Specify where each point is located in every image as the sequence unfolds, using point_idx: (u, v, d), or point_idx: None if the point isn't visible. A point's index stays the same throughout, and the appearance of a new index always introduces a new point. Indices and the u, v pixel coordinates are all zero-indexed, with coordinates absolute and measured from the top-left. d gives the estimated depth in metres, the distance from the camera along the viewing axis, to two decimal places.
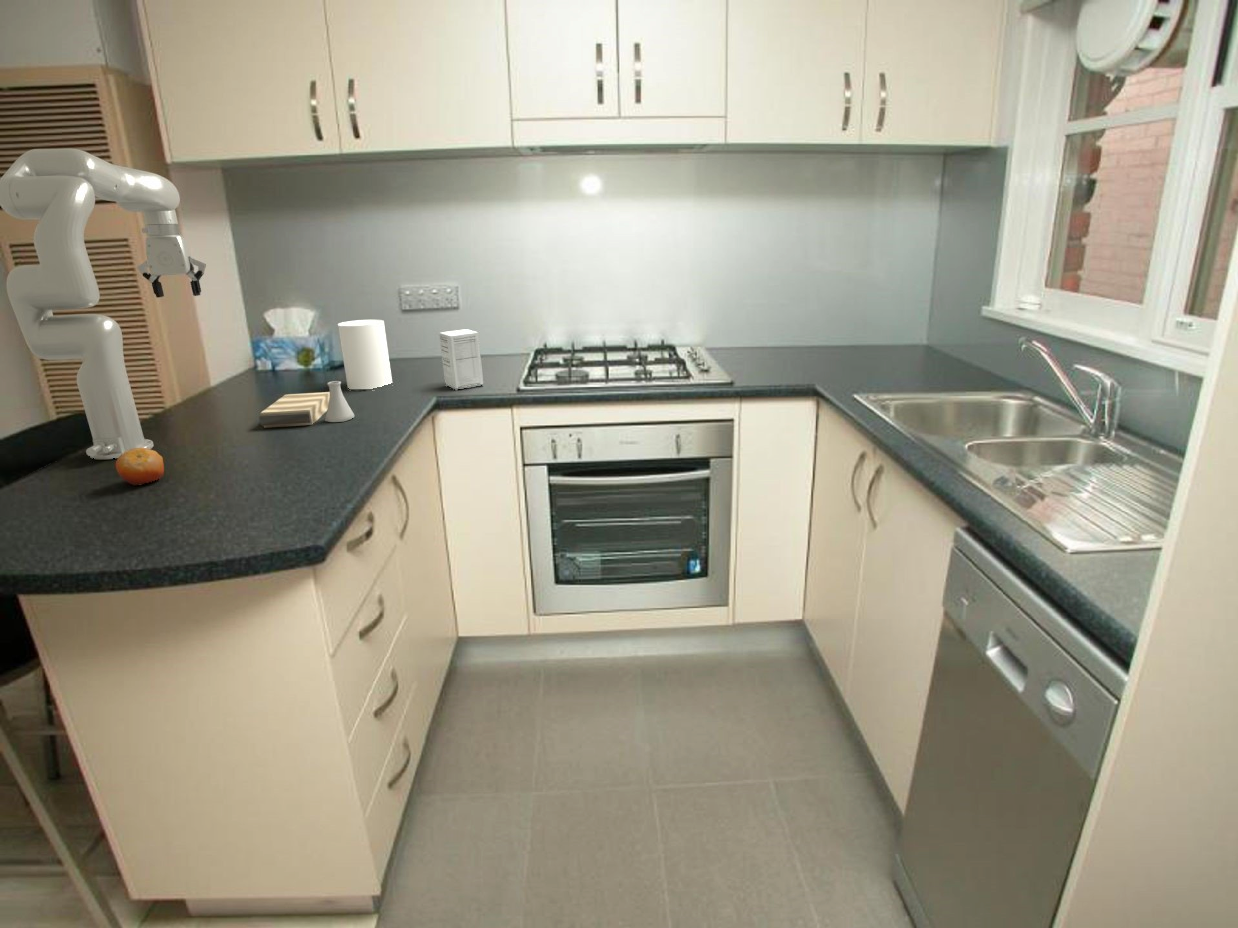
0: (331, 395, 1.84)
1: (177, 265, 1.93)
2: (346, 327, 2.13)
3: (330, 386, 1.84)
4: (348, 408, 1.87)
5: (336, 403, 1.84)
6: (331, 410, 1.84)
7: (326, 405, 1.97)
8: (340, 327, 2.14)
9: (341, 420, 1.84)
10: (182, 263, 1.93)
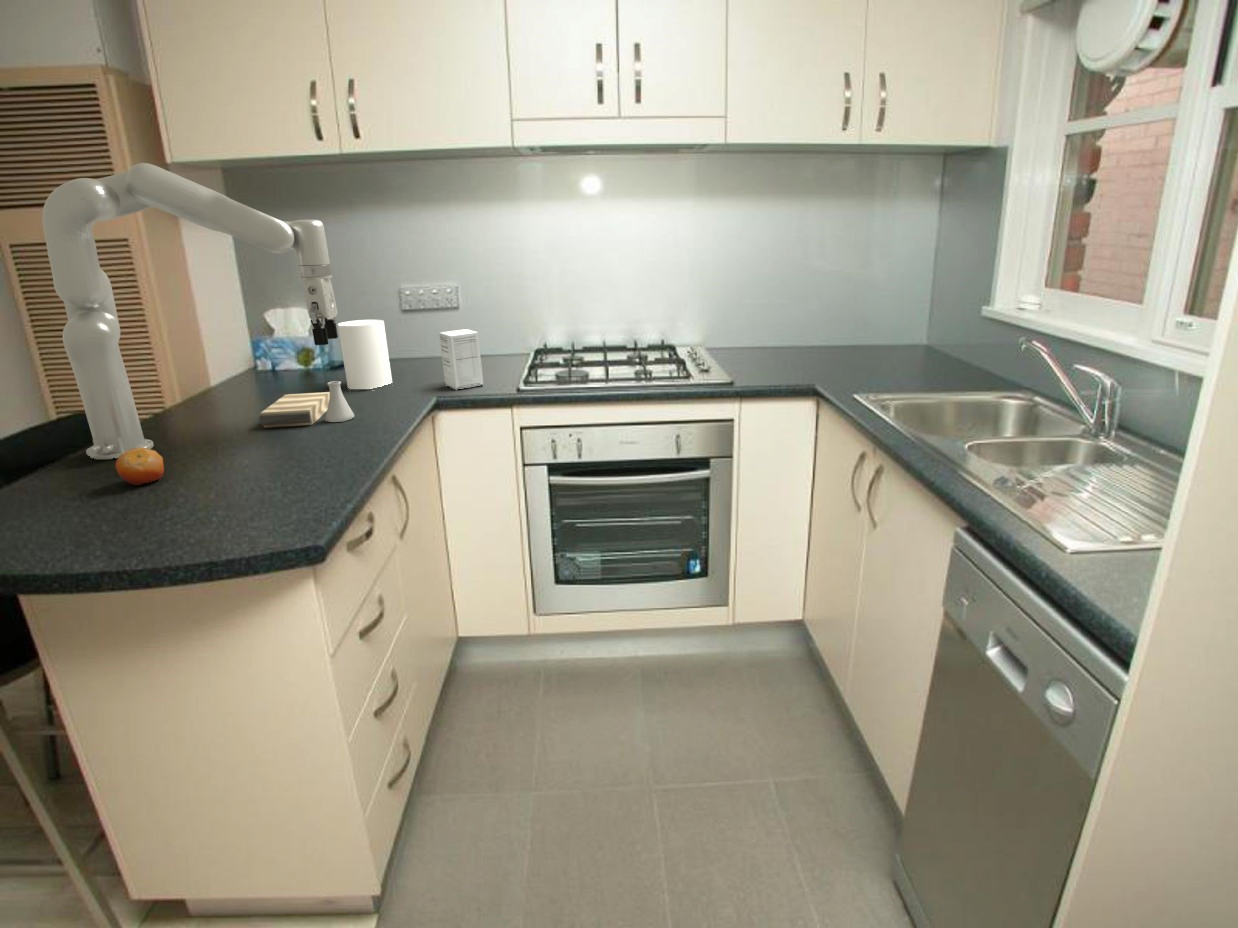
0: (331, 395, 1.84)
1: (335, 306, 1.81)
2: (346, 327, 2.13)
3: (330, 386, 1.84)
4: (348, 408, 1.87)
5: (336, 403, 1.84)
6: (331, 410, 1.84)
7: (326, 405, 1.97)
8: (340, 327, 2.14)
9: (341, 420, 1.84)
10: (335, 304, 1.82)
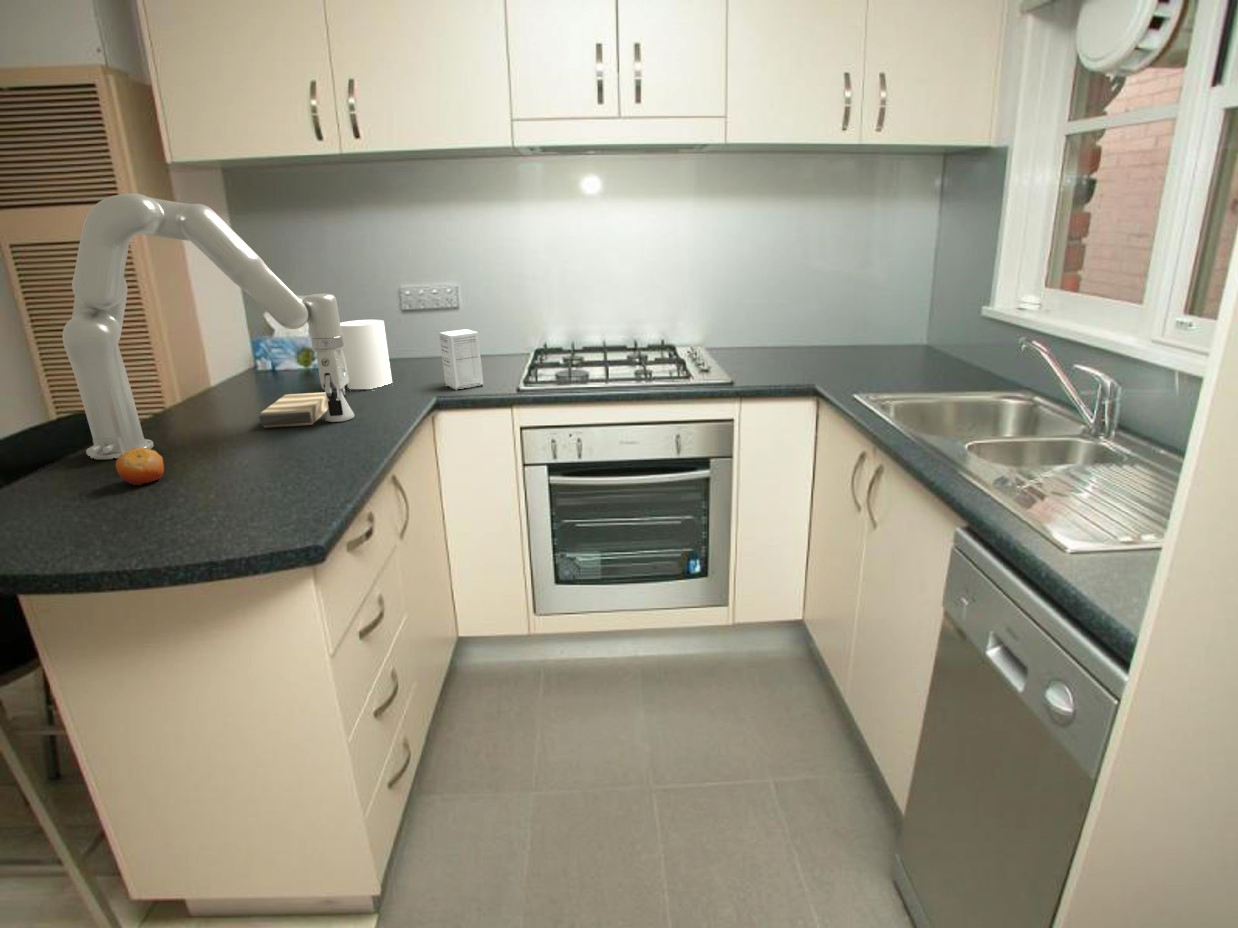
0: None
1: (346, 374, 1.87)
2: (346, 327, 2.13)
3: None
4: (348, 408, 1.87)
5: None
6: None
7: (326, 405, 1.97)
8: None
9: (341, 420, 1.84)
10: (347, 371, 1.88)
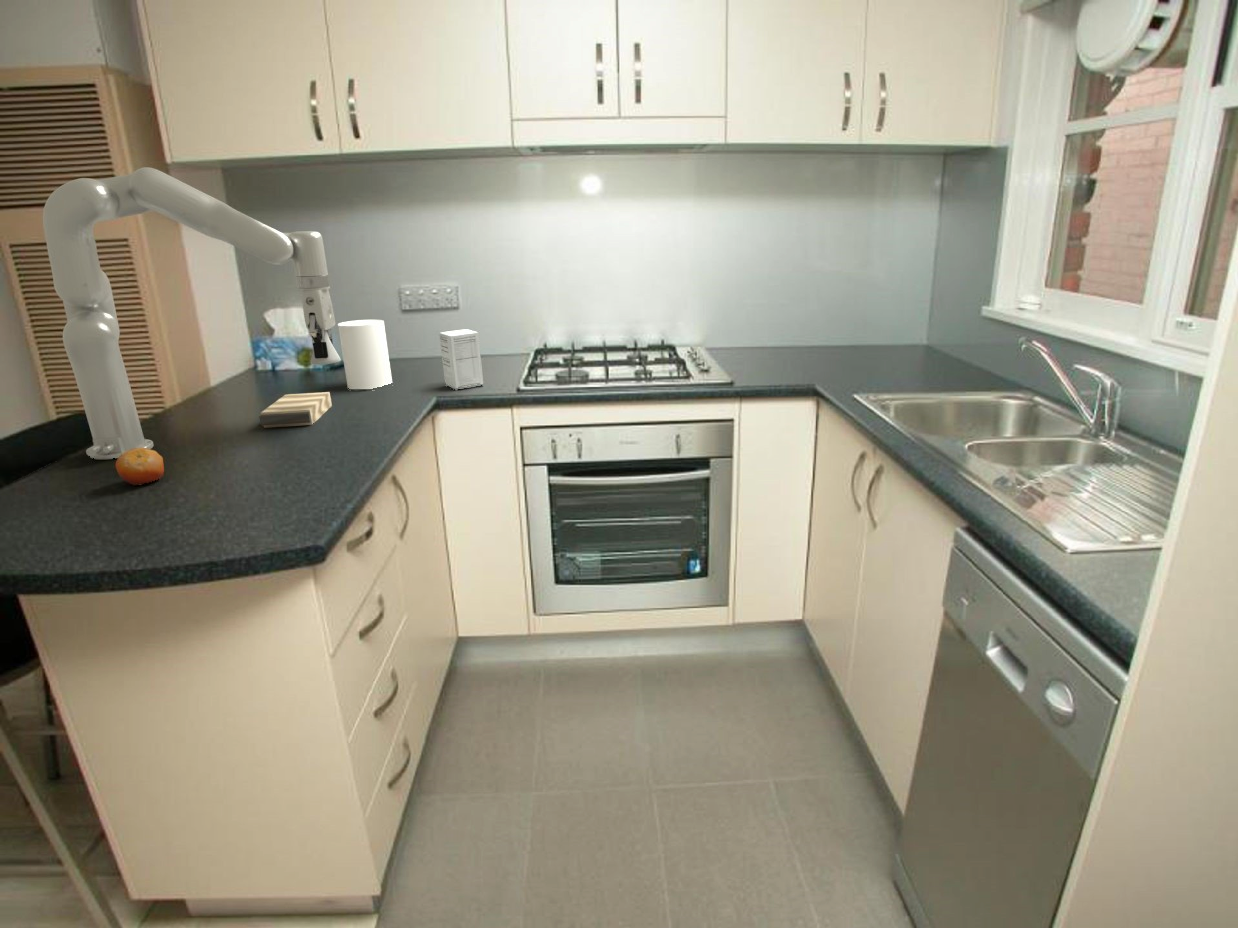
0: None
1: (332, 317, 1.82)
2: (346, 327, 2.13)
3: None
4: (334, 351, 1.82)
5: None
6: None
7: (326, 405, 1.97)
8: (340, 327, 2.14)
9: (326, 363, 1.80)
10: (333, 314, 1.83)
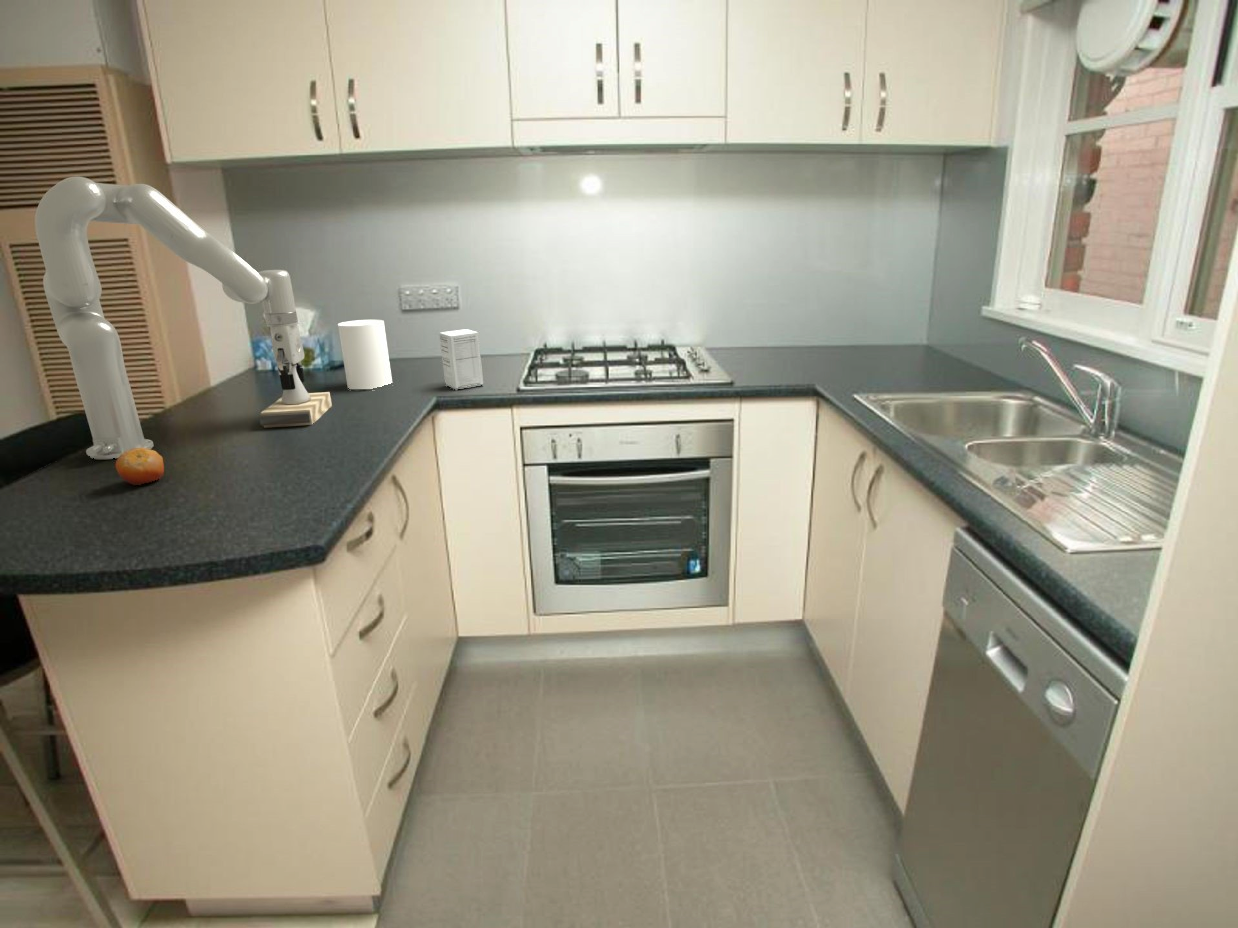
0: None
1: (301, 350, 1.89)
2: (346, 327, 2.13)
3: None
4: (304, 391, 1.90)
5: None
6: (287, 392, 1.87)
7: (326, 405, 1.97)
8: (340, 327, 2.14)
9: (296, 402, 1.87)
10: (302, 348, 1.90)
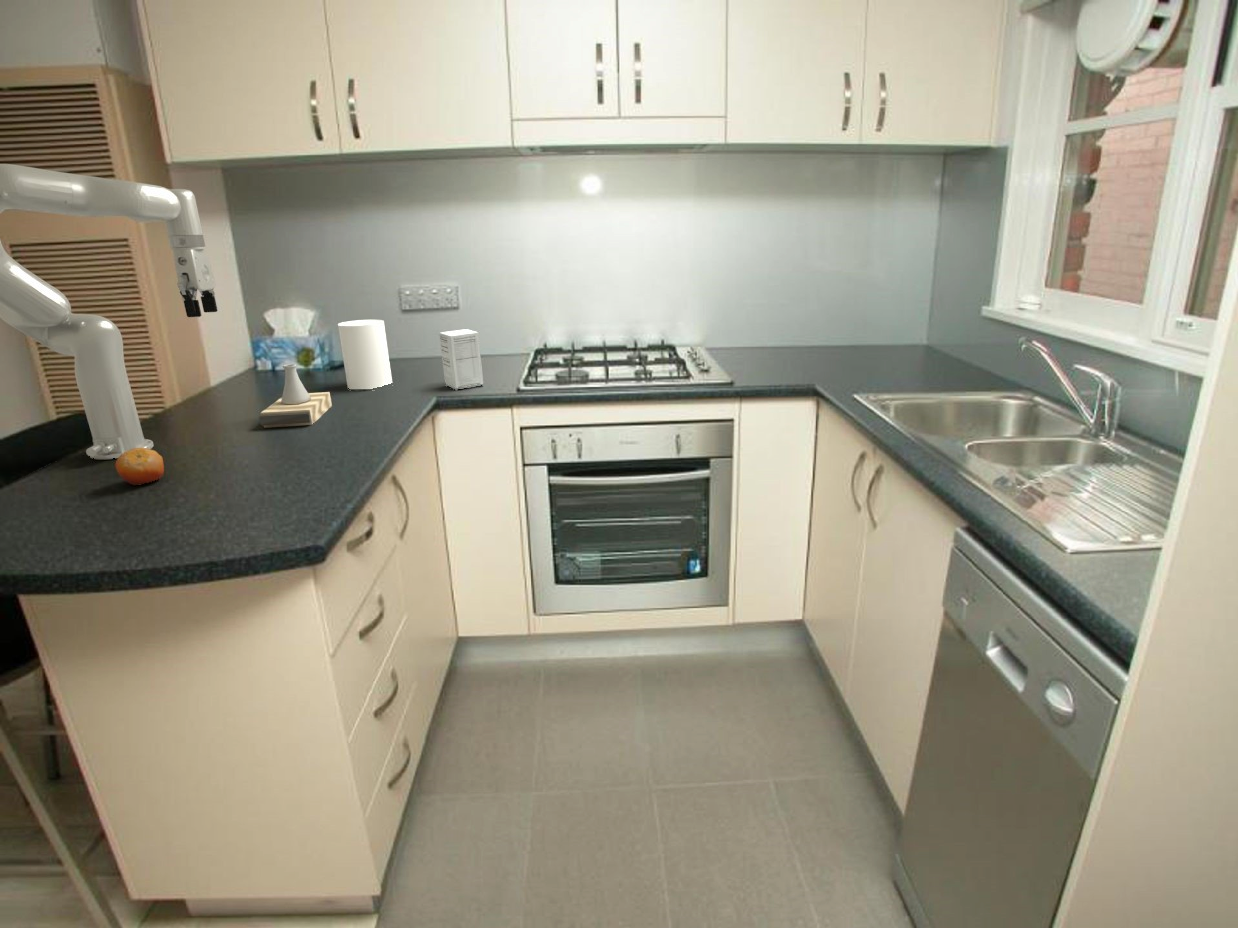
0: (287, 378, 1.87)
1: (211, 279, 1.79)
2: (346, 327, 2.13)
3: (285, 369, 1.86)
4: (304, 391, 1.90)
5: (291, 385, 1.87)
6: (287, 392, 1.87)
7: (326, 405, 1.97)
8: (340, 327, 2.14)
9: (296, 402, 1.87)
10: (212, 276, 1.80)
